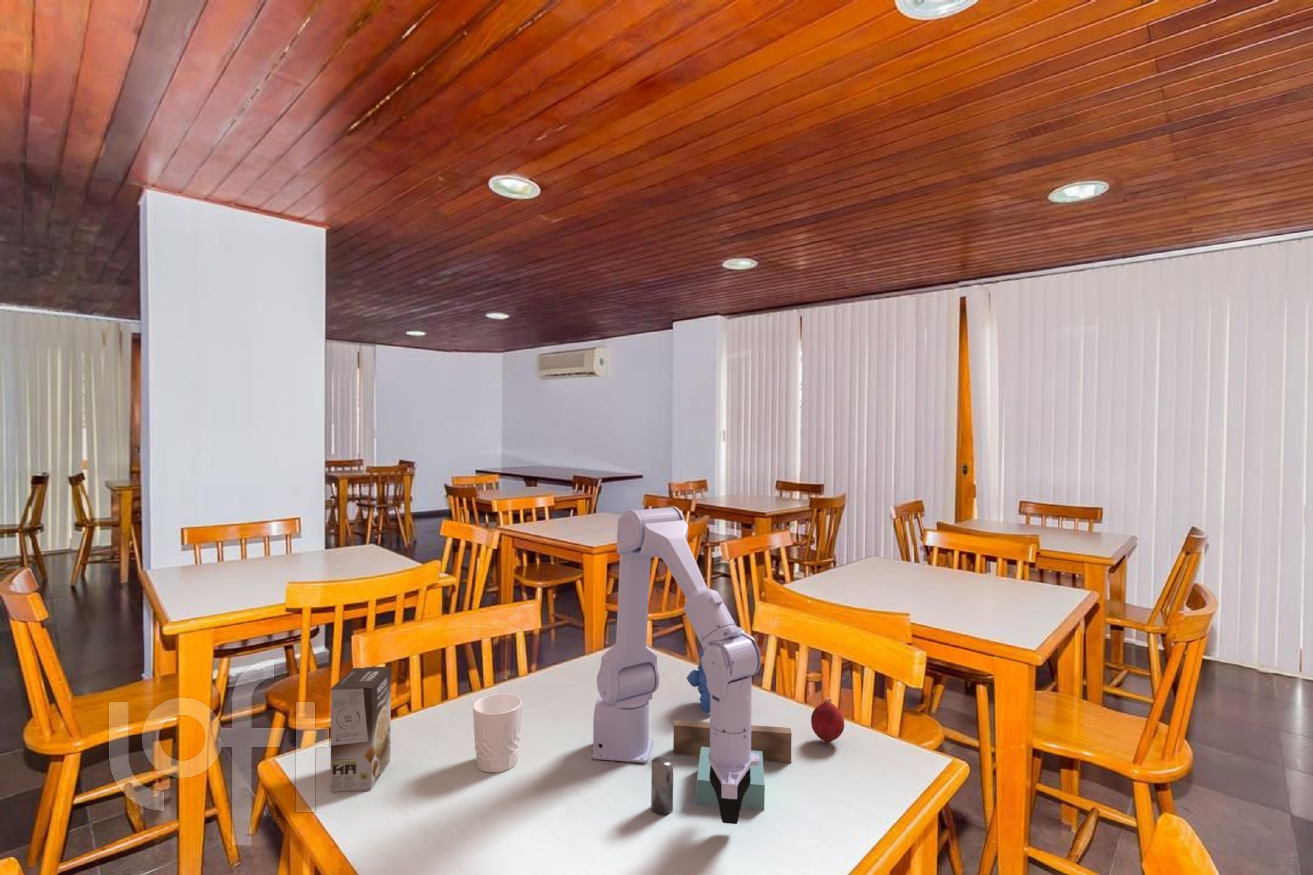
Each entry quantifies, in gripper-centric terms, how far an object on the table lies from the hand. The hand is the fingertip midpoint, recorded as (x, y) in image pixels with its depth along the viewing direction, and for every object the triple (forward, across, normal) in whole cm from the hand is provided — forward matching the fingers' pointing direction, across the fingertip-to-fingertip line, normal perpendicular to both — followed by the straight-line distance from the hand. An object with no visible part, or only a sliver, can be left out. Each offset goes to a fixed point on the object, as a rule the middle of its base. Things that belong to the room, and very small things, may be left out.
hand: (729, 820), depth 89 cm
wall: (+2, +21, 0) cm, 21 cm away
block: (+2, +11, 0) cm, 11 cm away
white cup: (+2, +13, +39) cm, 41 cm away
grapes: (+2, +39, +6) cm, 39 cm away
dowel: (+2, +4, +10) cm, 11 cm away
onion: (+2, +28, -17) cm, 33 cm away
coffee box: (+2, +6, +59) cm, 59 cm away
